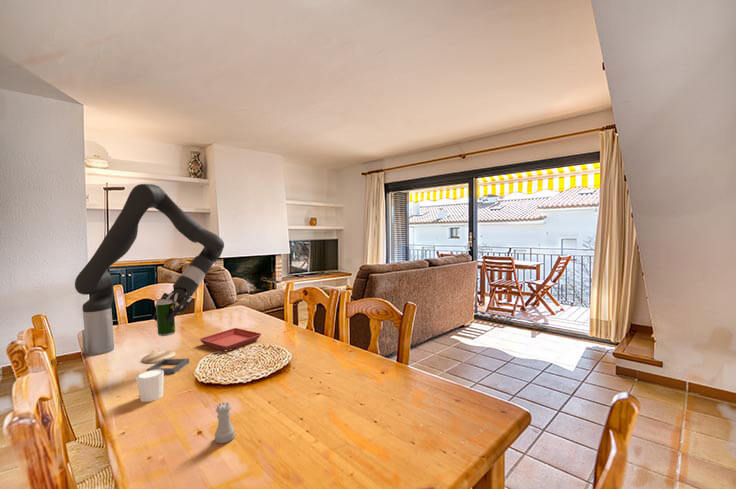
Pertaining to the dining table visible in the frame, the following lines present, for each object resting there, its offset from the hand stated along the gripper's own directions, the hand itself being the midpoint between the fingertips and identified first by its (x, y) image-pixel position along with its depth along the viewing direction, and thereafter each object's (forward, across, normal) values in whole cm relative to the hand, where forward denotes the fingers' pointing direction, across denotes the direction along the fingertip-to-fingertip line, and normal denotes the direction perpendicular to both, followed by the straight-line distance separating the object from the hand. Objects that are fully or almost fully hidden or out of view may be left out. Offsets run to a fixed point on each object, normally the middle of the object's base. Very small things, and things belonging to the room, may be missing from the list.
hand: (161, 320), depth 122 cm
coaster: (+7, -13, +17) cm, 23 cm away
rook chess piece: (+27, +52, -3) cm, 59 cm away
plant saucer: (-8, 0, +34) cm, 35 cm away
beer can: (+3, 0, +5) cm, 6 cm away
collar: (+11, 0, +13) cm, 17 cm away
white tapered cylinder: (+23, +16, +2) cm, 28 cm away
